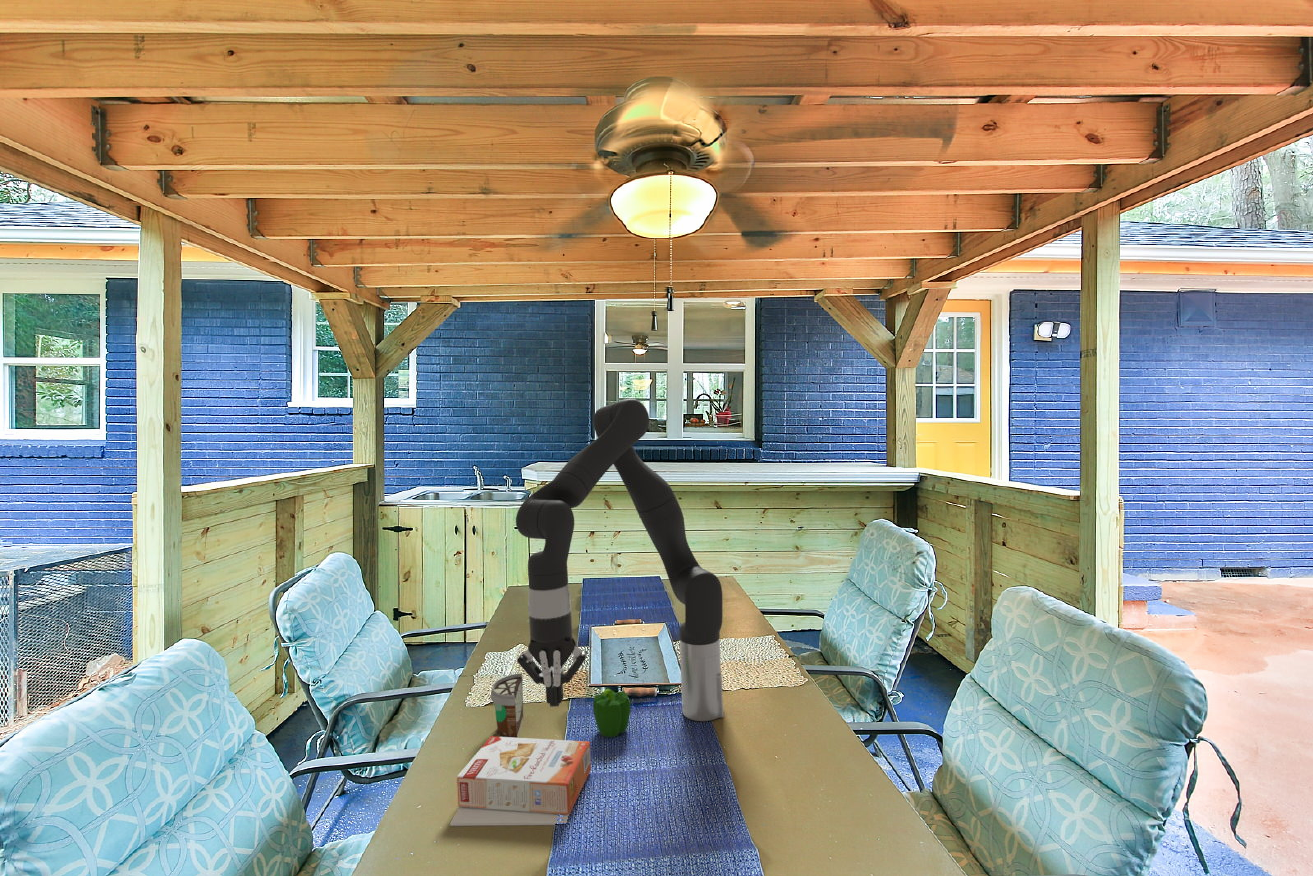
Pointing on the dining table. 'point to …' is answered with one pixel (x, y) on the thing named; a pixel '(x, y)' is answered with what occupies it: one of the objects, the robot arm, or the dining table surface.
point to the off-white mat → (503, 817)
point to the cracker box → (525, 775)
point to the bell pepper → (611, 712)
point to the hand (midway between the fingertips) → (555, 704)
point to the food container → (508, 705)
